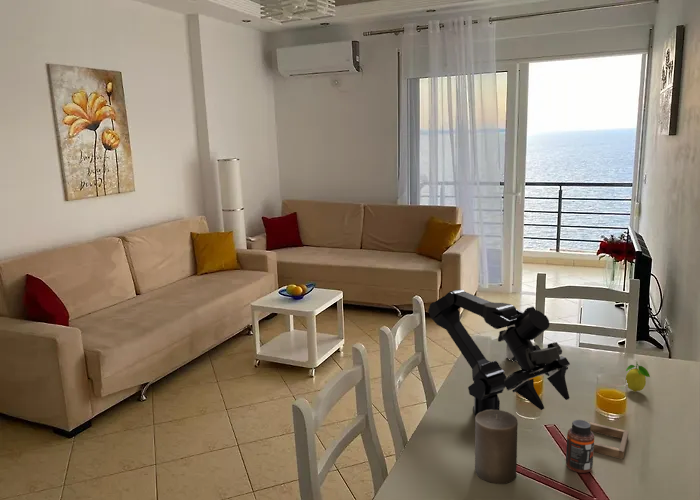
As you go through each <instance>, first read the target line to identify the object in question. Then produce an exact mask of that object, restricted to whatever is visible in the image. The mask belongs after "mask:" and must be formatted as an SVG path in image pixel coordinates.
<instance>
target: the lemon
mask: <svg viewBox="0 0 700 500" xmlns="http://www.w3.org/2000/svg"><path fill="white" fill-rule="evenodd" d="M635 363H636V365H635V364H629V366H627V368H626V370H625V371H626V372H627V371H628V372H627V373H626V377H625V381H626V380H627V383H628V387H627V388H628V389H629V390H631V391H632V392H633V393H637V392H641V391H642V390H644V388H645V387H646V383H647V380H646V377H647V378H651V377H650V373H649V371H648V369H646V368H645V366H642V365H639V364H638V361H636V362H635Z"/></svg>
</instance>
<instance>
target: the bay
mask: <svg viewBox="0 0 700 500" xmlns="http://www.w3.org/2000/svg"><path fill="white" fill-rule="evenodd" d="M588 423H590V425H591V430H590V431H591V432H592V433H597V434H602V435H606V436H608V437H614V438H618V439H621V441H620V446H619V448H618V447H614V446H610V445H606V444H602V443H598V442H595V441H594V453H596V454H597V453H598V454H602V455H606V456H608V457H611V458H612V457H613V458H618V459H621V460H624V457H625V454H626V453H625V452H626V449H627V444H628V439H629V430H625V429H619V428H616V427H612V426H609V425H604V424H599V423H595V422H591V421H589V422H588Z"/></svg>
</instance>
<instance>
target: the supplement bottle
mask: <svg viewBox="0 0 700 500" xmlns="http://www.w3.org/2000/svg"><path fill="white" fill-rule="evenodd" d="M590 430H591V425H590V423H589V422H588V421H586V420H582V419H575V420H572V424H571V427H570V428H569V429H568V431H567V432H566V433H567V434H566V449H565V450H566V451H565V452H566V453H565V465H566V466H567V468H568V469H569V470H571V471H573V472H576V473H581V474H586V473H589V472H591V471H592V469H593V464H594V453H595V452H594V442H595V435H594V432H592V431H590Z"/></svg>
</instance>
